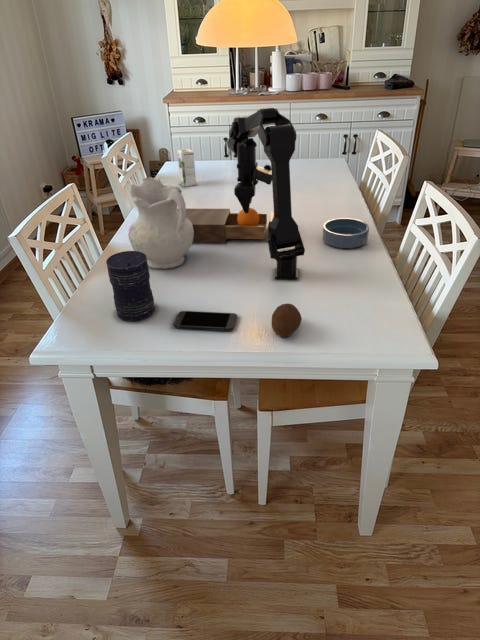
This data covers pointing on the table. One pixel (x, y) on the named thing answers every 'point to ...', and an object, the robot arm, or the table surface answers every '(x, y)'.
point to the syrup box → (186, 167)
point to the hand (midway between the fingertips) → (248, 208)
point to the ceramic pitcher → (160, 224)
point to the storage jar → (131, 285)
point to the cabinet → (208, 225)
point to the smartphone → (205, 320)
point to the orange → (248, 218)
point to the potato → (286, 320)
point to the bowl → (345, 232)
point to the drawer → (246, 227)
